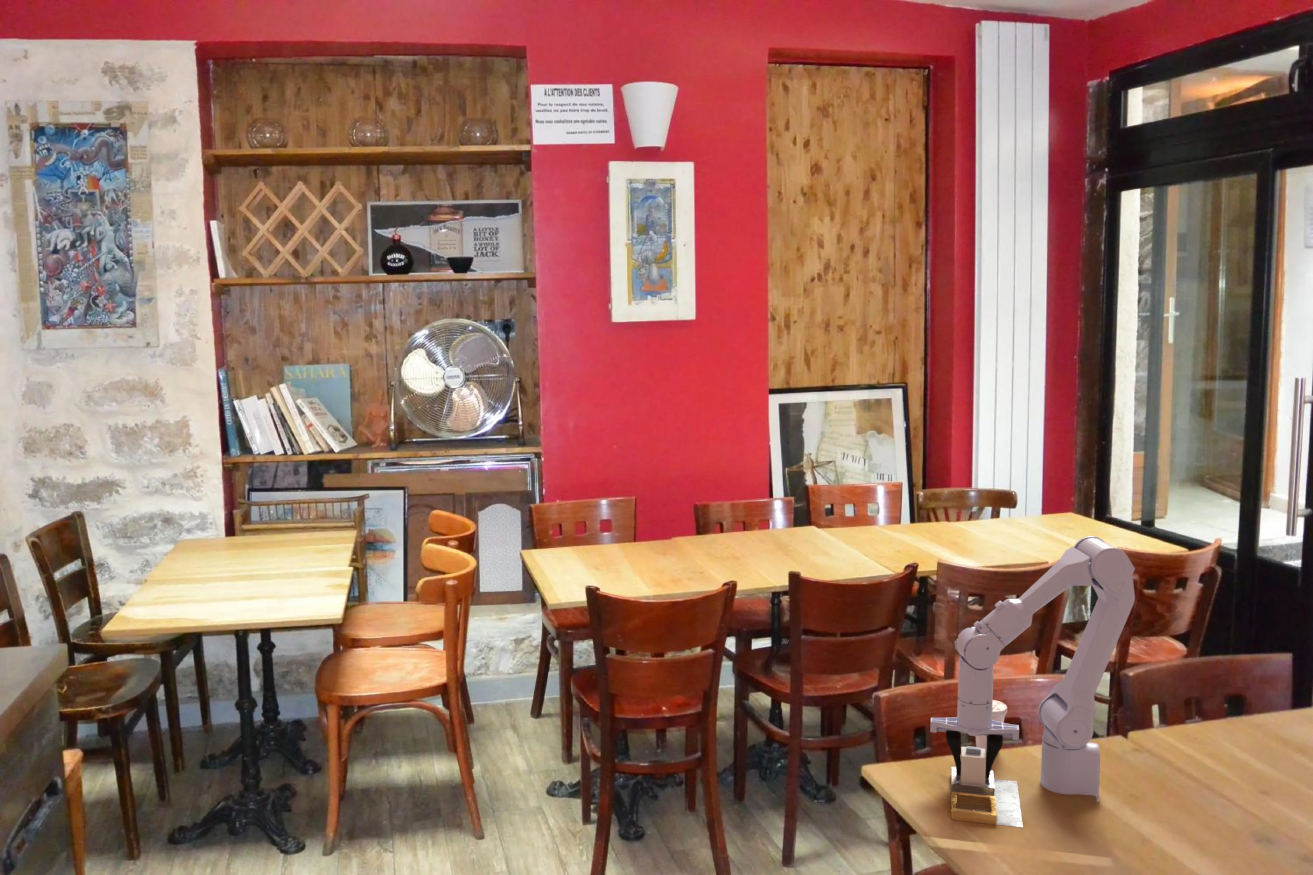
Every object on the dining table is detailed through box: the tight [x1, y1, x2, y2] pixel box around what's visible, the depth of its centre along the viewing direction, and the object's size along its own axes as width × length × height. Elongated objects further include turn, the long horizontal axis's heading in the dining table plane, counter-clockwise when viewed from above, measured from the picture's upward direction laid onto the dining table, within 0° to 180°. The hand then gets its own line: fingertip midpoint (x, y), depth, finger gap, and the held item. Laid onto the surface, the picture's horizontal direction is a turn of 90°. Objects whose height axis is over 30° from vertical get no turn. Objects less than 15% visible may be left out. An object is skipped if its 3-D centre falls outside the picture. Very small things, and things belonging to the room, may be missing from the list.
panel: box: [950, 766, 1024, 828], centre depth 185 cm, size 11×17×2 cm, turn 165°
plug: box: [960, 745, 986, 785], centre depth 190 cm, size 4×4×7 cm
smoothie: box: [975, 699, 1008, 752], centre depth 205 cm, size 6×6×14 cm
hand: (972, 774), depth 190 cm, fingers closed on plug, 4 cm apart
